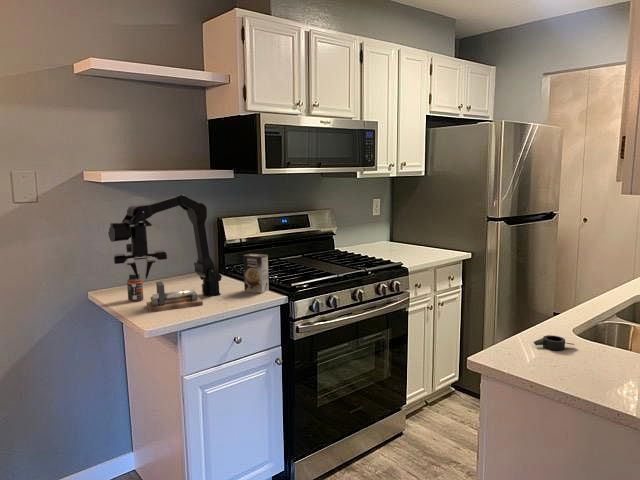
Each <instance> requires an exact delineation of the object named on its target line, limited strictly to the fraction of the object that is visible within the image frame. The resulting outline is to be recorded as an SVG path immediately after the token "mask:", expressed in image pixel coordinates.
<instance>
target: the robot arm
mask: <svg viewBox="0 0 640 480" xmlns="http://www.w3.org/2000/svg"><path fill="white" fill-rule="evenodd" d="M175 207H180V208H181V209H182V210H184V211H185V212H186V214H187V217H188V219H189V221H190V222H191V223H192V228H193V233H194V238H195V247H196V252H197V260H196V262H193V267H194V272H195V273H196V275H198V276H199V279H200V280H202V284H201V293H202V294H203V296H204V297H211V296H220V295H222V294H221V292H220V281H222V277H223V276H222V275H221V273H219V272H218V271H217V268H216V265H215V262H214V260H212V257H211V254H210V249H209V242H208V237H207V236H208V235H207V230H206V221H207V217H208V208H207V205H206V204H204V203H202V202H197V201H196V200H194V199H191V198H189V197H187V196H186V195H185V194H175V195H174V196H171V197H168V198H163V199H161V200H157V201H154V202H151V203H143V204H142V203H141V204H133V205H130V206H129V207H128V208H127V210H126V215H125V216H124V218H123V219H122V220H121V222H110V224H109V225H110V226H109V229H108V238H109V240H110V242H112V243H115V242H121V241H122V242H125V241H128V240H129V239H130V242H131V243H126V245H125V247H126V249H125V250H126V253H129V254H130V255H125V253H116V254H115V253H114V254H113V255H112V256H113V257H112V258H113V262H114V265H117V264H118V265H119V264H125V262H126V265H127V266H130V267H131V269H132V270H133V273H135V276H136V278H137V280H138V273H139V272H138V268H137V265H136V264H137V263H136V261H137V260H145V271H144V272H145V279H148V277H149V275H150V274H149V273H150V271H151V268H152V265H153V263H156V260H155V259H157V260H158V261H160V260H161V261H162V260H167V259H168V254H167V252H166V251H165V250H163V249H162V250H153V251H154V252H151V253H149V248H148V235H147V234H148V233H147V227H151V226H152V225H153V224H152V223H151V222H149V221H148V219H150V218H151V217H152V216H154V215H155V214H157V213H160V212H163V211H167V210H170V209H172V208H175Z"/></svg>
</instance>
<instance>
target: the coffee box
mask: <svg viewBox="0 0 640 480" xmlns="http://www.w3.org/2000/svg"><path fill="white" fill-rule="evenodd" d="M242 257H243V282H244V283H243V284H244V290H243V291H244V292H245V293H254V294H255V293H256V294H264V293H266V292H268V291H270V289H269V260H268V259H269V255H268V254H262V253H247V254H243V255H242Z"/></svg>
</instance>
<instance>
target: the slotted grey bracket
mask: <svg viewBox="0 0 640 480" xmlns="http://www.w3.org/2000/svg"><path fill="white" fill-rule="evenodd" d="M155 285H156V294H159V301H158V302H159V304H160V305H165V293H166V292H165V285H164V283H163V282H162V281H156V282H155Z"/></svg>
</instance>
